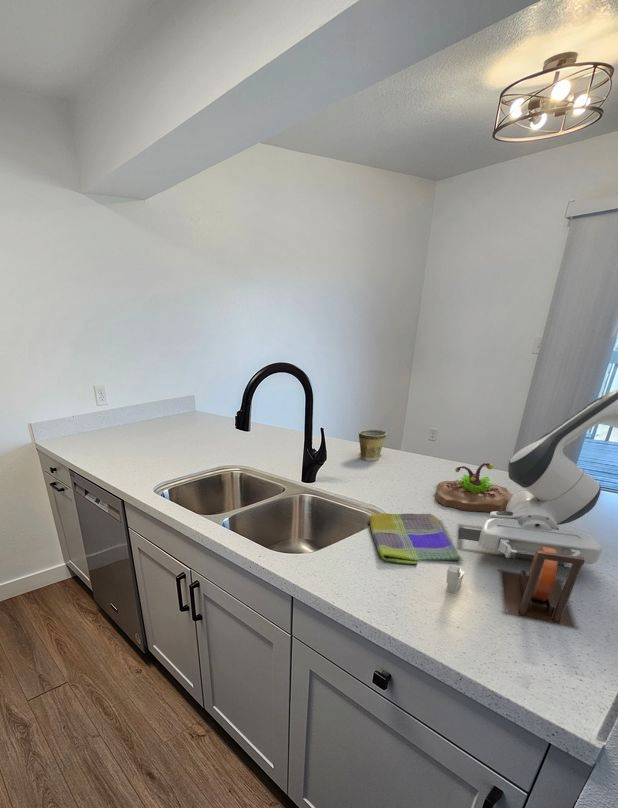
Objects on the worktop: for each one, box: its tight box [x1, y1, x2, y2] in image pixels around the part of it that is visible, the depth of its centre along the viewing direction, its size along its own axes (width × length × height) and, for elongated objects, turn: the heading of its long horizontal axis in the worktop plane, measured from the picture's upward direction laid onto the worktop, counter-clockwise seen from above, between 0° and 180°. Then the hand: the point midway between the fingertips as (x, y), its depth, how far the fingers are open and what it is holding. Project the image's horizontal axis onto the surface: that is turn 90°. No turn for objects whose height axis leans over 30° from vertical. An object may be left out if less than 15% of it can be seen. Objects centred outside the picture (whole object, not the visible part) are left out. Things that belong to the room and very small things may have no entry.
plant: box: [434, 462, 514, 513], centre depth 126 cm, size 20×20×11 cm
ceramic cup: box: [358, 429, 388, 462], centre depth 168 cm, size 13×10×10 cm
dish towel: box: [368, 512, 461, 565], centre depth 107 cm, size 18×24×3 cm
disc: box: [528, 547, 559, 602], centre depth 81 cm, size 2×10×10 cm, turn 152°
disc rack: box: [500, 551, 585, 628], centre depth 80 cm, size 10×16×14 cm, turn 152°
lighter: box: [445, 565, 465, 595], centre depth 85 cm, size 7×2×8 cm, turn 139°
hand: (540, 559), depth 84 cm, fingers open, 8 cm apart
